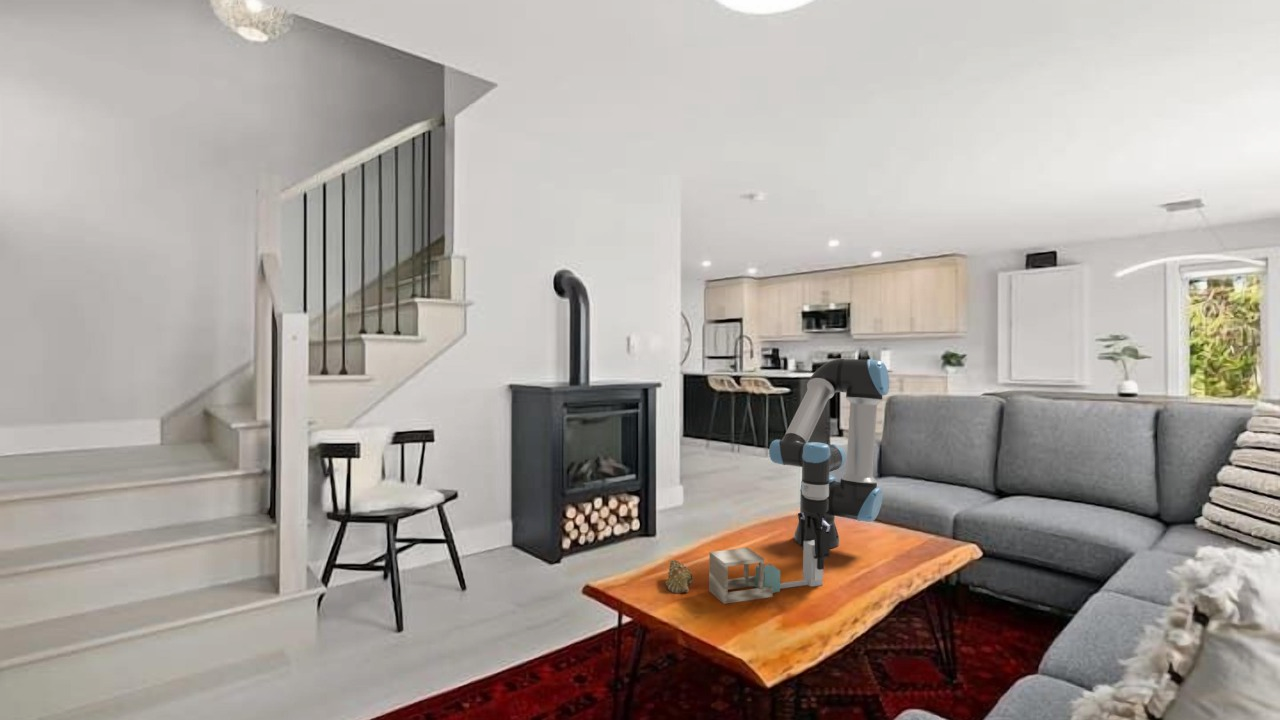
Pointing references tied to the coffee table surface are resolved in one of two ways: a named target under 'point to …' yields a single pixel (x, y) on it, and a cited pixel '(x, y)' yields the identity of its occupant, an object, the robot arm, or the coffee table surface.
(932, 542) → the coffee table surface
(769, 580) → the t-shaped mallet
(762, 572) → the shelf
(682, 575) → the seashell
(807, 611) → the coffee table surface
